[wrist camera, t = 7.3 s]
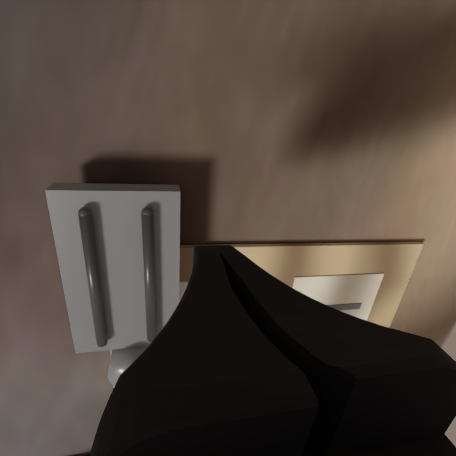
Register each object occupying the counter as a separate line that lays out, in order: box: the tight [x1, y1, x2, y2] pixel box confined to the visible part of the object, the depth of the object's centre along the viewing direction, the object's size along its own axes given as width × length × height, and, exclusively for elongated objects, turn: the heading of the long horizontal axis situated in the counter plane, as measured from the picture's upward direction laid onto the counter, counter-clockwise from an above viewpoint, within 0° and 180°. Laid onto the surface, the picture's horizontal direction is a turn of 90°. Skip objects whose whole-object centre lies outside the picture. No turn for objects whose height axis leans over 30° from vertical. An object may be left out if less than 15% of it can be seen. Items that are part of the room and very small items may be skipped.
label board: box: [110, 242, 424, 387], centre depth 23 cm, size 23×14×1 cm, turn 84°
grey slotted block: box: [45, 183, 180, 386], centre depth 17 cm, size 12×6×2 cm, turn 175°
